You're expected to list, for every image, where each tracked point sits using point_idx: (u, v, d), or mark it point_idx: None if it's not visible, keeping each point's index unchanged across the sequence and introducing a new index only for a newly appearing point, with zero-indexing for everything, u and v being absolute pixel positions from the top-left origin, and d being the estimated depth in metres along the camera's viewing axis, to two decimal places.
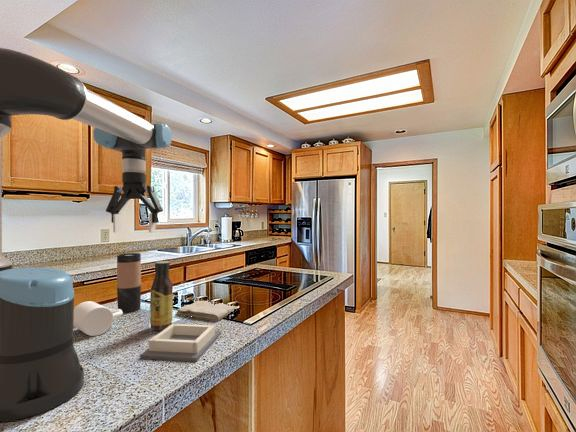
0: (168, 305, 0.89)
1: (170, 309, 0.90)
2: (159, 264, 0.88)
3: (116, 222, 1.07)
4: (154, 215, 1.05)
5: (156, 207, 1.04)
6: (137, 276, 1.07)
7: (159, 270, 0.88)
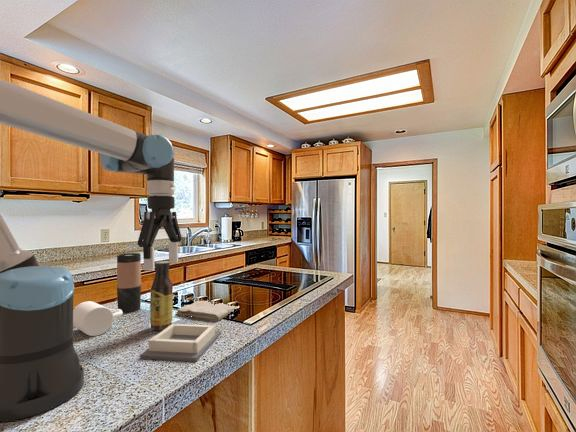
0: (168, 305, 0.89)
1: (170, 309, 0.90)
2: (159, 264, 0.88)
3: (171, 251, 0.97)
4: None
5: None
6: (137, 276, 1.07)
7: (159, 270, 0.88)
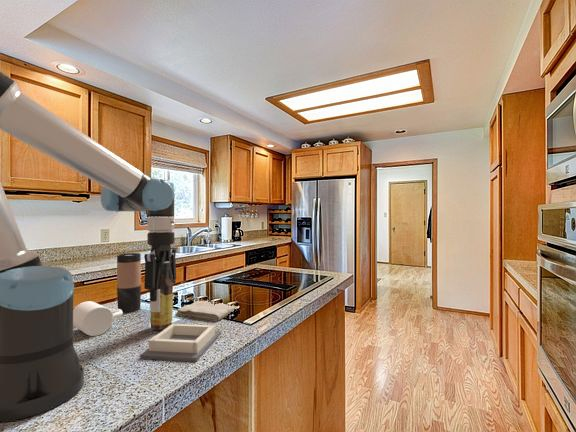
0: (168, 305, 0.89)
1: (170, 309, 0.90)
2: None
3: None
4: None
5: None
6: (137, 276, 1.07)
7: None
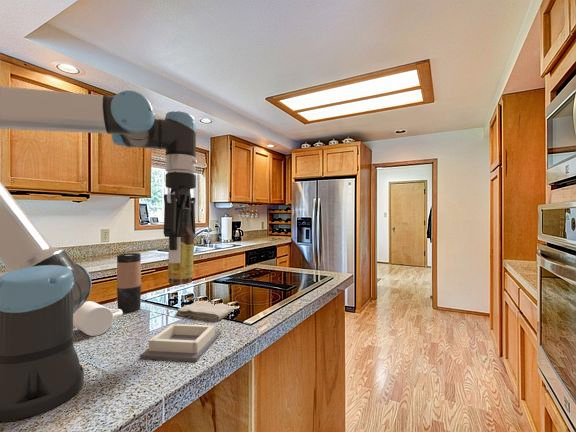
0: (190, 256, 0.78)
1: (191, 261, 0.78)
2: None
3: None
4: None
5: None
6: (137, 276, 1.07)
7: None
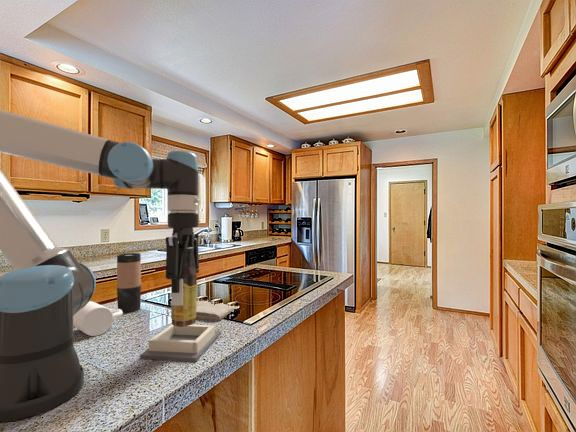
0: (193, 297, 0.77)
1: (194, 302, 0.77)
2: None
3: None
4: None
5: None
6: (137, 276, 1.07)
7: None
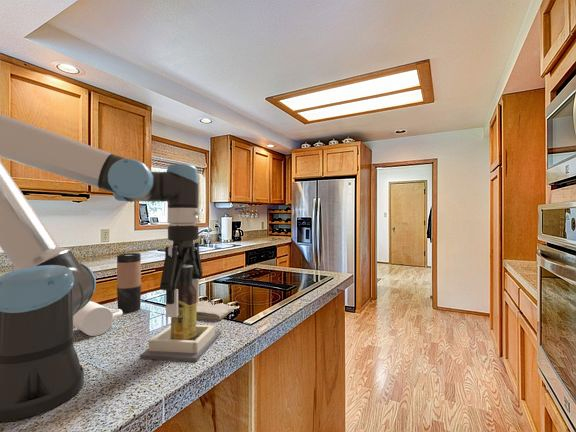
0: (192, 316, 0.76)
1: (194, 321, 0.77)
2: (182, 268, 0.76)
3: None
4: None
5: None
6: (137, 276, 1.07)
7: (182, 275, 0.76)
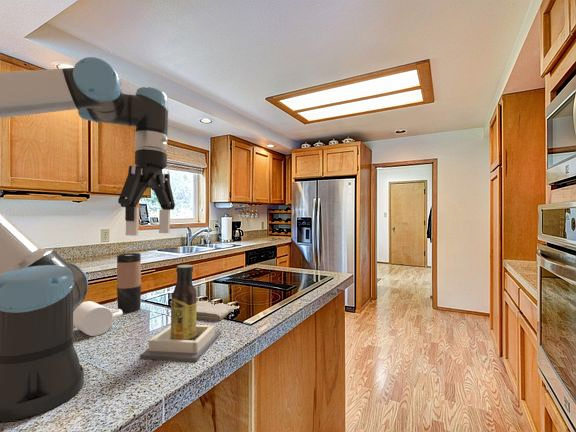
0: (192, 316, 0.76)
1: (194, 320, 0.77)
2: (182, 268, 0.76)
3: (161, 220, 0.83)
4: None
5: None
6: (137, 276, 1.07)
7: (182, 275, 0.76)
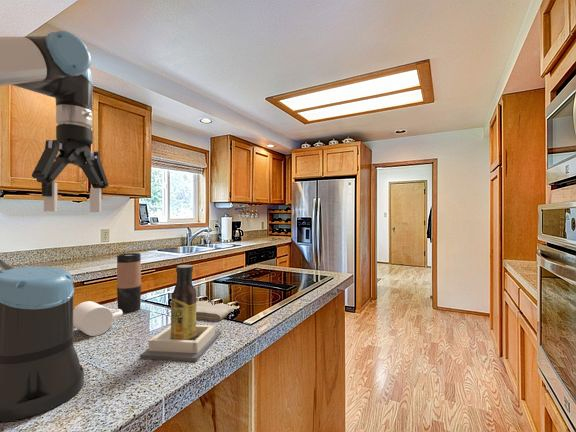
0: (192, 316, 0.76)
1: (194, 320, 0.77)
2: (181, 268, 0.76)
3: (92, 199, 0.82)
4: None
5: None
6: (137, 276, 1.07)
7: (182, 275, 0.76)
